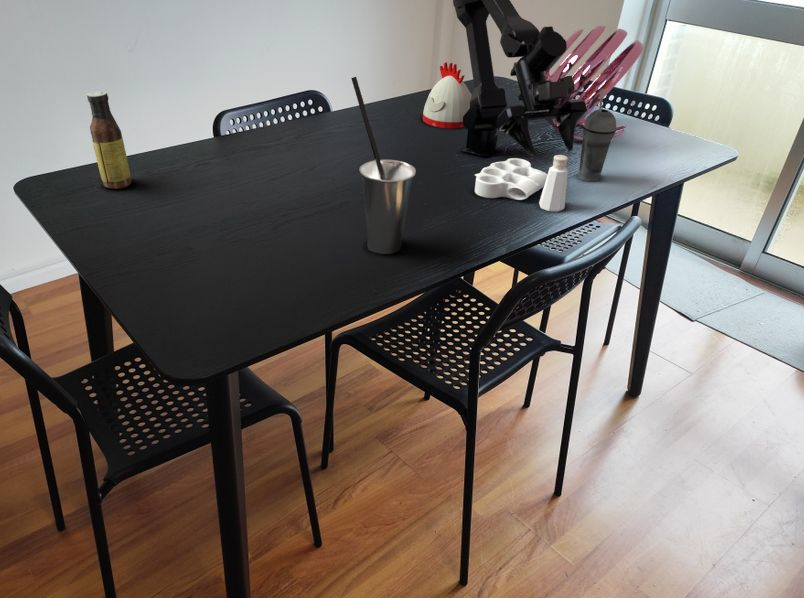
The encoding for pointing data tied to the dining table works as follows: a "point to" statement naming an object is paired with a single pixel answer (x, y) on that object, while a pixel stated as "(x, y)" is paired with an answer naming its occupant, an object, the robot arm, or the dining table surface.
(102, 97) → the sauce bottle
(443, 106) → the kitchen timer
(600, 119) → the beverage cup
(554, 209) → the salt shaker
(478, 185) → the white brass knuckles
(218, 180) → the dining table surface
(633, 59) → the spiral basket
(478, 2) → the robot arm
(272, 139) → the dining table surface
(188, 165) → the dining table surface
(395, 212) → the steel tumbler with stirrer
